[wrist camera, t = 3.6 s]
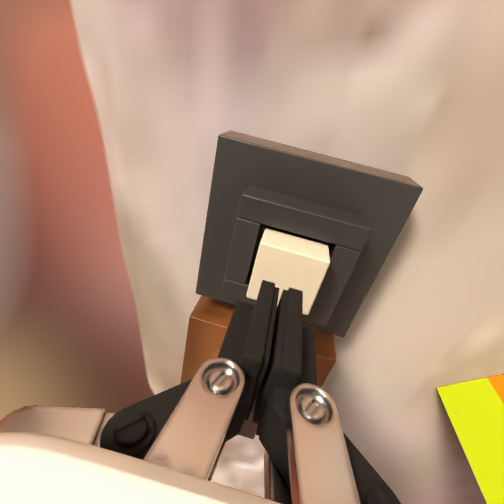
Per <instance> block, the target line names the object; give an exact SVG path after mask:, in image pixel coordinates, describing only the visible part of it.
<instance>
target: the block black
mask: <svg viewBox="0 0 504 504" xmlns="http://www.w3.org/2000/svg"><path fill="white" fill-rule="evenodd" d="M422 190H423V188H422V187H421V186H420V185H418V184H417V183H416V182H414V181H413V180H412V179H411V178H409V177H406V176H403V175H399V174H395V173H391V172H387V171H383V170H380V169H376V168H372V167H368V166H364V165H360V164H357V163H353V162H349V161H345V160H341V159H337V158H334V157H330V156H326V155H322V154H318V153H314V152H310V151H307V150H303V149H299V148H295V147H291V146H287V145H284V144H280V143H276V142H272V141H268V140H264V139H261V138H257V137H253V136H249V135H245V134H241V133H238V132H234V131H228V132H225V133H223V134H220V135H219V136H218V142H217V149H216V156H215V163H214V170H213V177H212V184H211V191H210V198H209V204H208V211H207V218H206V225H205V232H204V239H203V246H202V253H201V259H200V266H199V273H198V280H197V287H196V294H199V295H203V296H206V297H210V298H213V299H216V300H220V301H223V302H226V303H230V304H233V305H237V306H240V307H243V308H247V309H250V310H253V311H254V307H255V304H256V300H254V299H250V298H247V297H246V294H247V290H248V287H249V283H250V279H251V275H252V271H253V267H254V264H255V260H256V256H257V252H258V248H259V245H260V241H261V239H262V236H263V233H264V230H265V229H266V228H269V229H272V230H276V231H279V232H283V233H286V234H290V235H294V236H297V237H301V238H304V239H308V240H312V241H315V242H319V243H322V244H326V245H328V248H329V256H330V265H329V267H328V270H327V272H326V274H325V277H324V279H323V281H322V284H321V286H320V288H319V291H318V293H317V296H316V298H315V300H314V303H313V305H312V307H311V310H310V312H309V314H308V315H305V314H302V325H305V326H309V327H312V328H314V329H318V330H321V331H324V332H328V333H331V334H335V335H338V336H341V337H344V336H345V334H346V332H347V330H348V328H349V326H350V324H351V322H352V321H353V319H354V317H355V315H356V313H357V311H358V309H359V308H360V306H361V304H362V302H363V300H364V298H365V296H366V295H367V293H368V291H369V289H370V287H371V285H372V283H373V282H374V280H375V278H376V276H377V274H378V272H379V270H380V268H381V267H382V265H383V263H384V261H385V259H386V257H387V255H388V254H389V252H390V250H391V248H392V246H393V244H394V242H395V241H396V239H397V237H398V235H399V233H400V231H401V229H402V228H403V226H404V224H405V222H406V220H407V218H408V216H409V214H410V213H411V211H412V209H413V207H414V205H415V203H416V201H417V200H418V198H419V196H420V194H421V192H422Z"/></svg>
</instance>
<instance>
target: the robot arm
mask: <svg viewBox="0 0 504 504" xmlns="http://www.w3.org/2000/svg"><path fill="white" fill-rule="evenodd" d="M278 296H279V288H277V287H275V283H273V282H269V281H265V280H262V283H261V286H260V290H259V293H258V297H257V300H256V304H255V307H254V311H253V310H249V309H246V308H242V307H239V306H235V309H234V312H233V314H232V317H231V320H230V323H229V326H228V329H227V332H226V334H225V337H224V340H223V343H222V346H221V349H220V352H219V354H218V357H217V358H213V359H210V360H208V361H206V362H205V363H203V365H202V366H201V367H200V368H199V370H198V371H197V373H196V375H195V376H194V378H193V379H191V380H189V381H187V382H185V383H182V384H180V385H178V386H175V387H173V388H171V389H168V390H166V391H164V392H161V393H159V394H157V395H154V396H152V397H150V398H147V399H145V400H143V401H140V402H138V403H136V404H133V405H131V406H129V407H127V408H124V409H122V410H121V411H119V412H117V413H105V409H94V408H75V407H57V406H38V405H34V406H25V407H23V408H20V409H17V410H15V411H13V412H12V413H10V414H9V415H7V416H6V417H4V418H3V419H2V420H1V421H0V504H401V503H400V501H399V500H398V498H397V497H396V495H395V494H394V493H393V491H392V490H391V489H390V488H389V487H388V485H387V484H386V483H385V482H384V481H383V479H382V478H381V477H380V476H379V475H378V473H377V472H376V471H375V470H374V469H373V467H372V466H371V465H370V464H369V463H368V461H367V460H366V459H365V458H364V457H363V455H362V454H361V453H360V452H359V451H358V449H357V448H356V447H355V446H354V445H353V443H352V442H351V441H350V440H349V439H348V437H347V436H346V435H345V434H344V433H343V430H342V426H341V422H340V418H339V414H338V410H337V407H336V404H335V402H334V400H333V399H332V398H331V396H330V395H329V394H328V393H327V392H326V391H325V390H324V389H322V388H320V387H319V386H317V370H316V345H315V329H314V328H312V327H309V326H305V325H302V312H303V291H301V290H297V289H294V288H290V287H289V289H288V290H284V289H283V291H282V294H281V297H280V300H279V303H278ZM277 303H278V306H277ZM255 399H256V401H255ZM254 402H255V407H254V413H253V419H252V422H253V423H256V424H257V429H256V435H259V440H260V441H261V443H262V445H263V446H264V448H265V455H264V480H265V498H262V497H259V496H256V495H252V494H249V493H246V492H243V491H240V490H237V489H234V488H230V487H227V486H224V485H221V484H218V483H215V482H211V480H212V477H213V475H214V472H215V470H216V467H217V464H218V462H219V459H220V457H221V454H222V452H223V449H224V447H225V444H226V441H228V440H229V439H231V438H233V437H234V436H236V435H237V434H239V433H240V431H241V428H242V426H243V423H244V420H246V421H248V418H249V416H250V413H251V410H252V408H253V405H254Z"/></svg>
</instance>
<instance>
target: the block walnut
mask: <svg viewBox="0 0 504 504" xmlns="http://www.w3.org/2000/svg"><path fill="white" fill-rule="evenodd" d="M235 306H237V305H233V304H230V303H226V302H223V301H220V300H216V299H213V298H210V297H206V296H203V295H202V296H201V297H200V299H199V301H198V303H197V305H196V306H195V308H194V310H193V312H192V313H191V315H190V318H189V325H188V332H187V340H186V347H185V354H184V361H183V368H182V376H181V383H180V384H182V383H185V382H187V381H189V380H191V379H193V378H194V376H195V375H196V373H197V371H198V370H199V368H200V367H201V366H202V365H203V363H205V362H206V361H208V360H210V359H213V358H217V357H218V354H219V352H220V349H221V346H222V343H223V340H224V337H225V334H226V332H227V329H228V326H229V323H230V320H231V317H232V314H233V312H234V309H235ZM239 307H240V306H239ZM242 308H243V307H242ZM246 309H247V308H246ZM249 310H250V309H249ZM315 345H316V370H317V386H319V387H320V388H321V386H322V385H323V383H324V381H325V379H326V377H327V376H328V374H329V372H330V370H331V368H332V366H333V365H334V363H335V361H336V358H335V347H334V337H333V334H331V333H328V332H324V331H321V330H318V329H315Z"/></svg>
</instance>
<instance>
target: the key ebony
mask: <svg viewBox="0 0 504 504" xmlns="http://www.w3.org/2000/svg"><path fill="white" fill-rule="evenodd" d="M255 401H256V399H255ZM254 407H255V402H254V405H253V408H252V410H251V413H250V416H249V418H248V421H246V420H244V423H243V426H242V428H241V431H240V433H239V434H238V435H241V436H245V437H248V438H251V439H254V437H255V435H256V429H257V424H256V423H253V422H252V419H253V413H254Z"/></svg>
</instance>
